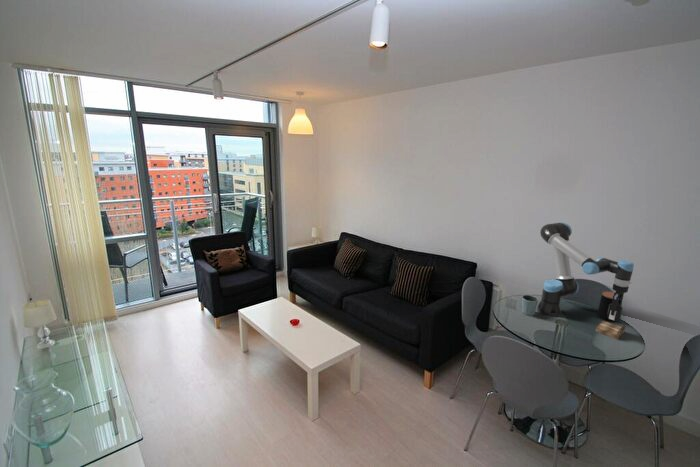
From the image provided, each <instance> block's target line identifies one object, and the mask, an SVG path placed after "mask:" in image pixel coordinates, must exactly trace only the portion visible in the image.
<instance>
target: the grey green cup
mask: <svg viewBox="0 0 700 467" xmlns="http://www.w3.org/2000/svg"><path fill="white" fill-rule="evenodd" d="M538 304H539V299H538V297H537V296H534V295H530V294H525V295H522V296H521V313H522V314H523V315H525V316H528V317H529V316H530V317H532V316H535V315H536V311H537V305H538Z"/></svg>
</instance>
